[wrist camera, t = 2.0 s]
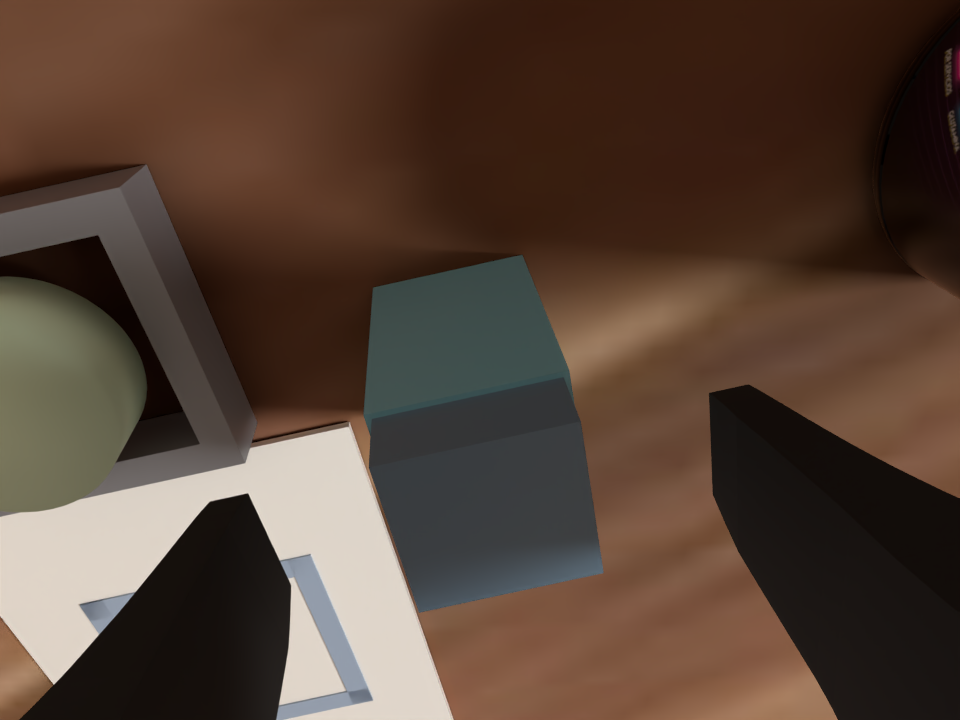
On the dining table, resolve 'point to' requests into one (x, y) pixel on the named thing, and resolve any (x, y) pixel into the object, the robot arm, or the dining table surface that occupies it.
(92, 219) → the button housing
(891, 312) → the dining table surface
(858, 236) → the dining table surface
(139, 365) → the button
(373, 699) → the paper
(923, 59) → the supplement container
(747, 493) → the robot arm
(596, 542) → the teal block
